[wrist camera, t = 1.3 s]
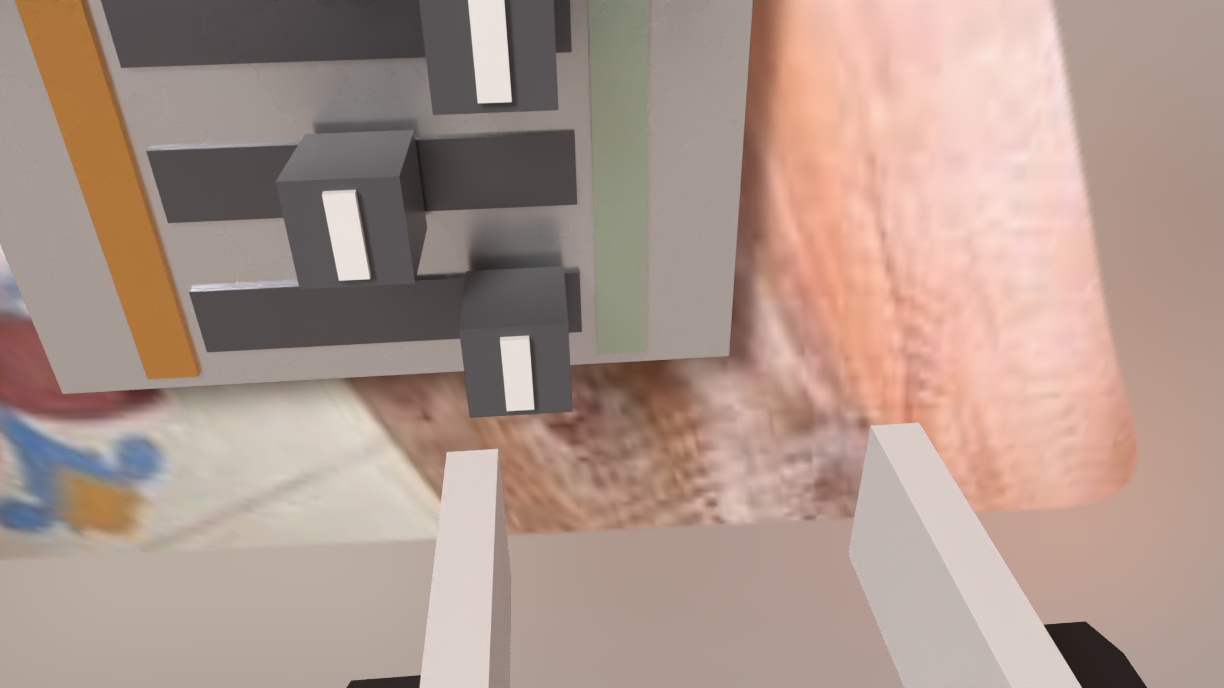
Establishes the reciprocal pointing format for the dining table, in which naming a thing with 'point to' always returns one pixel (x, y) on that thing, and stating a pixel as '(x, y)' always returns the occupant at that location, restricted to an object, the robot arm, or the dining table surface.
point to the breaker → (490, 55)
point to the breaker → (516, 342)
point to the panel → (339, 103)
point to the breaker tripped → (354, 209)
